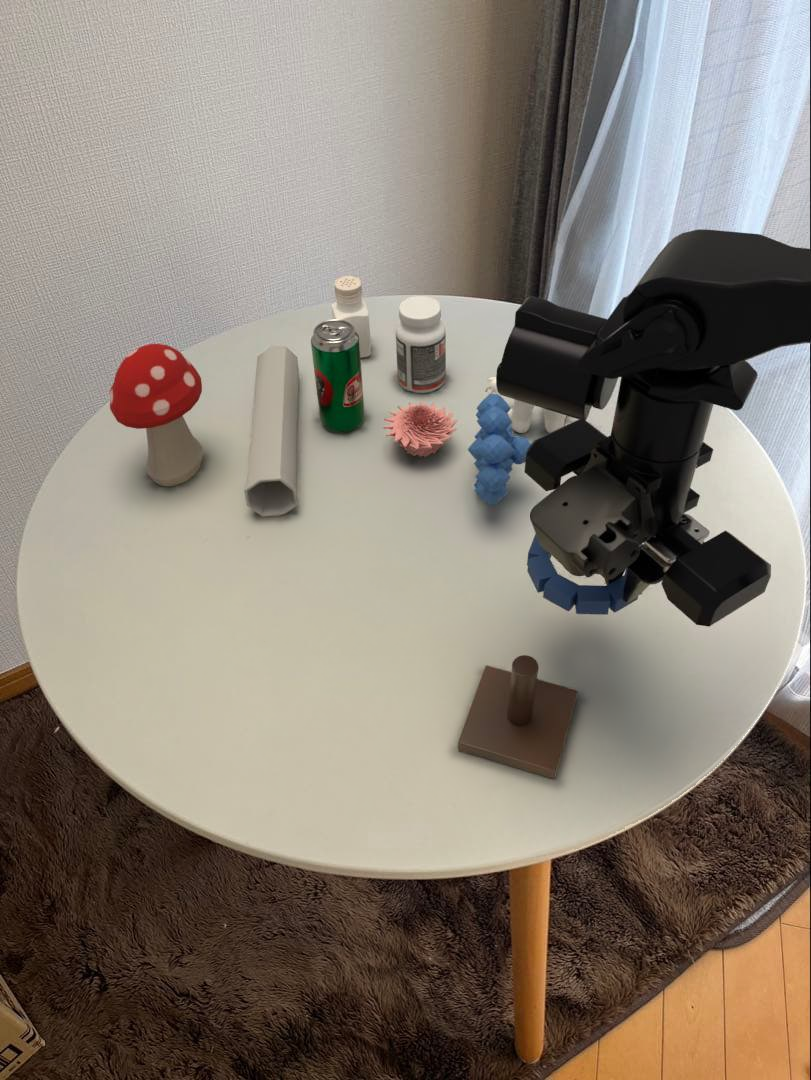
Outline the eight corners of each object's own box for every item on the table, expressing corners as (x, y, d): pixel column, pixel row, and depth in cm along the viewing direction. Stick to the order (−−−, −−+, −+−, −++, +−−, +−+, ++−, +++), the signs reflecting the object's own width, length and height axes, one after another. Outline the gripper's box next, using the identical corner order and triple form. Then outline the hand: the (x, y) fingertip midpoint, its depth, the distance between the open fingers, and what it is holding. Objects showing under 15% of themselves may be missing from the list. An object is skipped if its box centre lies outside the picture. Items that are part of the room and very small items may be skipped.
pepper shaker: (372, 358, 110) (368, 289, 103) (340, 363, 110) (333, 294, 103) (365, 340, 113) (361, 271, 106) (334, 344, 112) (327, 276, 105)
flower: (448, 479, 95) (449, 438, 91) (375, 468, 96) (373, 428, 92) (463, 431, 100) (464, 391, 96) (393, 422, 101) (391, 382, 97)
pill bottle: (453, 373, 108) (454, 300, 100) (433, 399, 104) (433, 326, 97) (410, 361, 109) (408, 289, 102) (389, 387, 106) (385, 314, 99)
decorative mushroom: (173, 430, 102) (142, 315, 91) (236, 452, 99) (211, 336, 88) (116, 484, 96) (74, 368, 85) (181, 509, 93) (147, 392, 82)
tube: (248, 344, 106) (234, 488, 89) (289, 330, 105) (283, 471, 87) (268, 379, 110) (259, 523, 92) (308, 365, 108) (306, 508, 91)
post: (576, 698, 76) (588, 639, 70) (554, 779, 71) (565, 723, 65) (485, 672, 78) (489, 613, 72) (457, 750, 73) (459, 693, 67)
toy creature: (588, 409, 102) (602, 318, 94) (593, 443, 98) (608, 351, 89) (482, 408, 103) (486, 317, 94) (483, 442, 99) (487, 351, 90)
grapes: (534, 535, 89) (544, 442, 80) (465, 533, 89) (468, 440, 81) (529, 457, 97) (538, 365, 88) (466, 456, 97) (469, 364, 89)
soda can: (355, 439, 100) (347, 348, 91) (313, 430, 101) (301, 339, 92) (371, 411, 103) (365, 321, 94) (330, 403, 104) (320, 313, 95)
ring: (655, 542, 73) (658, 529, 72) (632, 629, 67) (635, 615, 66) (545, 516, 76) (547, 503, 75) (514, 597, 70) (515, 584, 69)
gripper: (469, 404, 60) (464, 561, 71) (670, 578, 49) (626, 731, 60) (595, 348, 64) (572, 505, 75) (807, 498, 53) (742, 655, 64)
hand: (620, 591), depth 69 cm, fingers closed on ring, 1 cm apart
